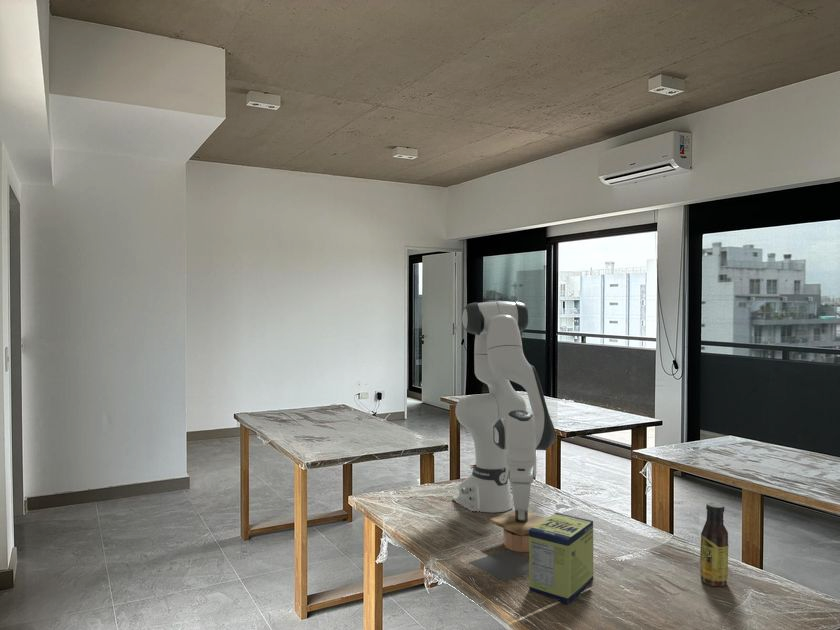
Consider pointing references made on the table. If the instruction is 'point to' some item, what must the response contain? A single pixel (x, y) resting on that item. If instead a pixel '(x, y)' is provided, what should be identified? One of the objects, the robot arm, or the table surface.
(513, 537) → the bowl
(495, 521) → the lid
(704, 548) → the sauce bottle
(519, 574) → the mat
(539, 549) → the protein box
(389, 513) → the table surface
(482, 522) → the table surface
